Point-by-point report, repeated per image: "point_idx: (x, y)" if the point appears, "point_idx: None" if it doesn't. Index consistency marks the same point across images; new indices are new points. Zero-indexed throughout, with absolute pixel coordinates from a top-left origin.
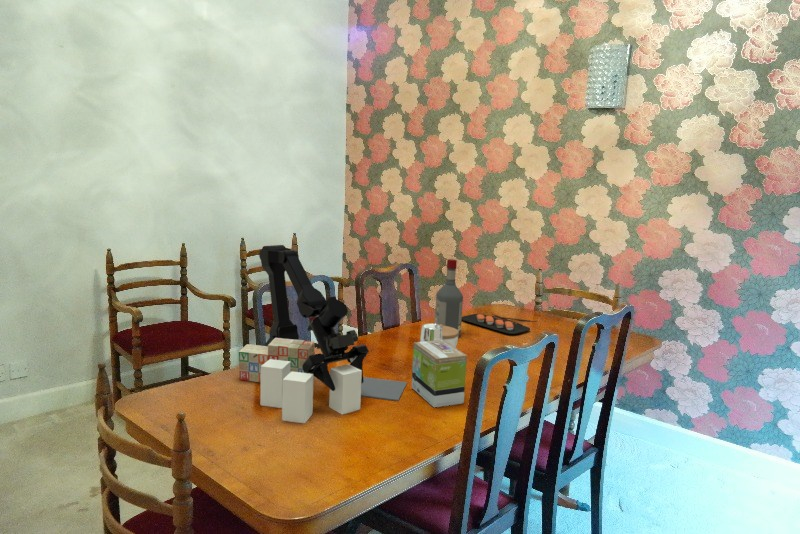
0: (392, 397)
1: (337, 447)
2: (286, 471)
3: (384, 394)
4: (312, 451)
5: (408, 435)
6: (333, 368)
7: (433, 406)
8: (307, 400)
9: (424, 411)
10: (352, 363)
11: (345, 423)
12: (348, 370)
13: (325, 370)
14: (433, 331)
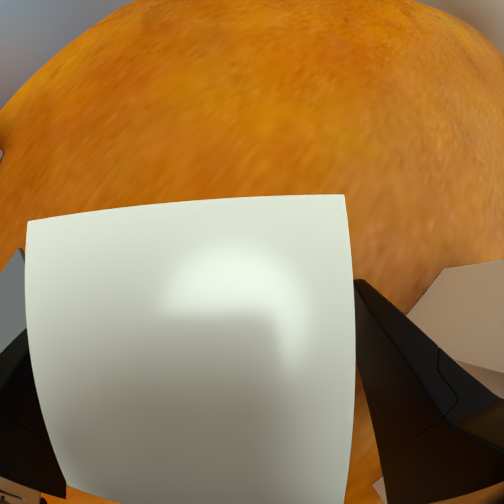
0: (19, 278)
1: (401, 79)
2: (497, 96)
3: (25, 320)
4: (458, 108)
5: (179, 35)
6: (314, 492)
7: (1, 152)
8: (486, 285)
9: (29, 140)
10: (33, 477)
11: (312, 179)
12: (158, 325)
13: (480, 411)
14: None
